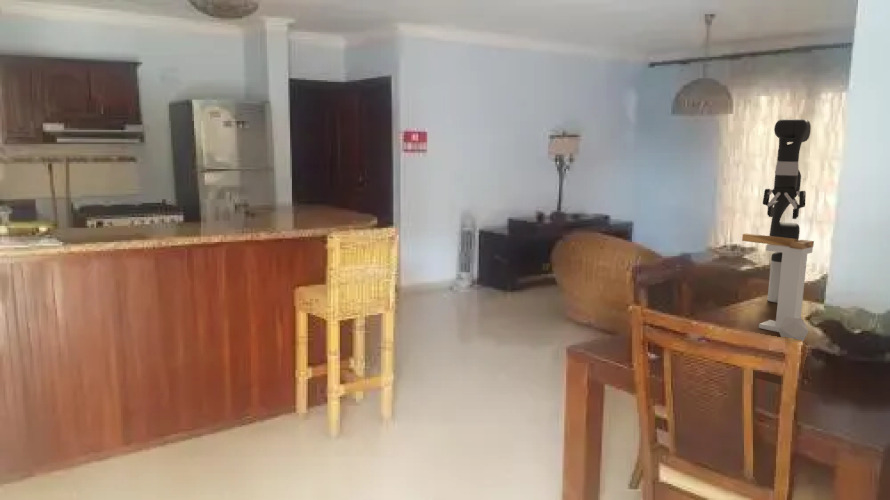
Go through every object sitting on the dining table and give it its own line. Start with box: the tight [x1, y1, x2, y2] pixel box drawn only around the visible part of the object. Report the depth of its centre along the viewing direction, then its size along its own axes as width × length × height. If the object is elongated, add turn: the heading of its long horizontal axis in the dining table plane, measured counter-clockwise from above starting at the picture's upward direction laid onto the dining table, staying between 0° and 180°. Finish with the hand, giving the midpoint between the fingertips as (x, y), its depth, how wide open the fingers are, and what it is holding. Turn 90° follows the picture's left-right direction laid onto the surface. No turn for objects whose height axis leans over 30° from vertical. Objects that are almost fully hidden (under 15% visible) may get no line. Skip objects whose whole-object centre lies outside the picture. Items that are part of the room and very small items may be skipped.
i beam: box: [758, 244, 814, 333], centre depth 240 cm, size 9×12×30 cm
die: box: [778, 317, 809, 342], centre depth 226 cm, size 8×9×10 cm
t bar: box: [741, 233, 815, 249], centre depth 241 cm, size 10×22×2 cm, turn 42°
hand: (782, 217), depth 253 cm, fingers open, 8 cm apart
